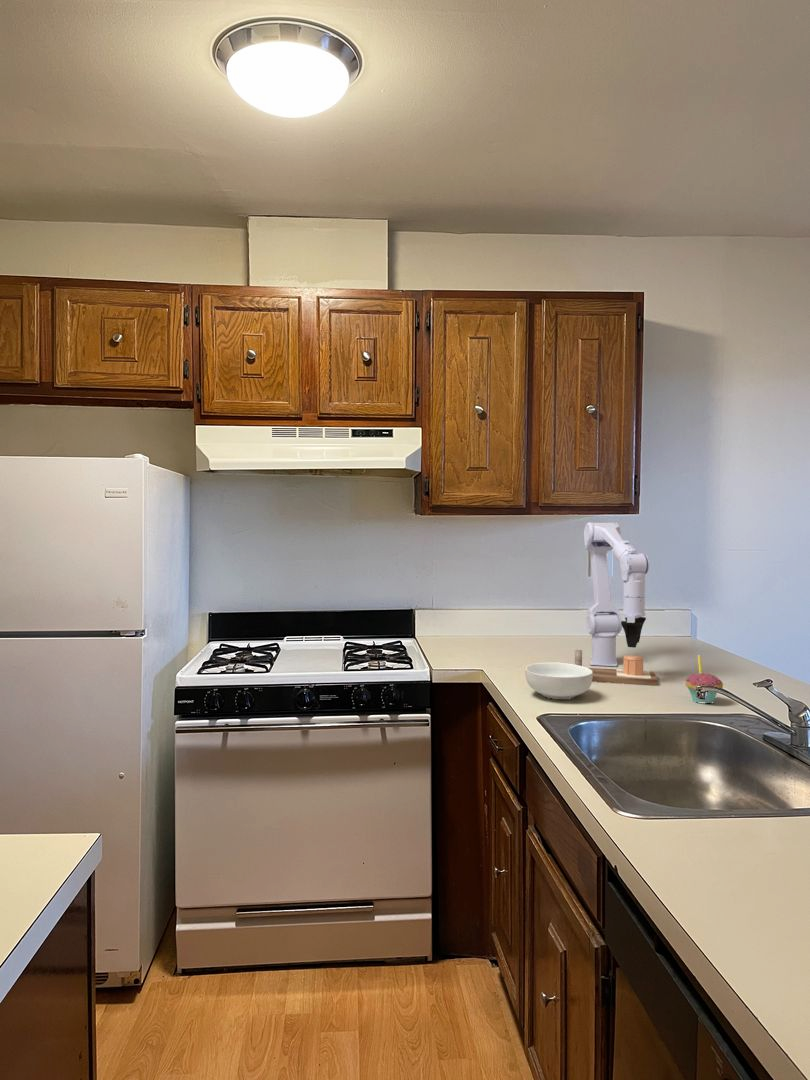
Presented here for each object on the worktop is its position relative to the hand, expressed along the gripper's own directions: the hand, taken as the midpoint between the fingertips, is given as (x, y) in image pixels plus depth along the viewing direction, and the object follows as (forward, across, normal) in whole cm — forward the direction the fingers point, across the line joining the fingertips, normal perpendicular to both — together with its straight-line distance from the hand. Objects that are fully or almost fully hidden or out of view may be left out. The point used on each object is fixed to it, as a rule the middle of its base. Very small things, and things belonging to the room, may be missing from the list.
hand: (633, 644), depth 201 cm
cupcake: (+10, +18, +19) cm, 28 cm away
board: (+10, +1, -8) cm, 13 cm away
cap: (+8, 0, 0) cm, 8 cm away
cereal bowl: (+10, +26, -16) cm, 32 cm away
